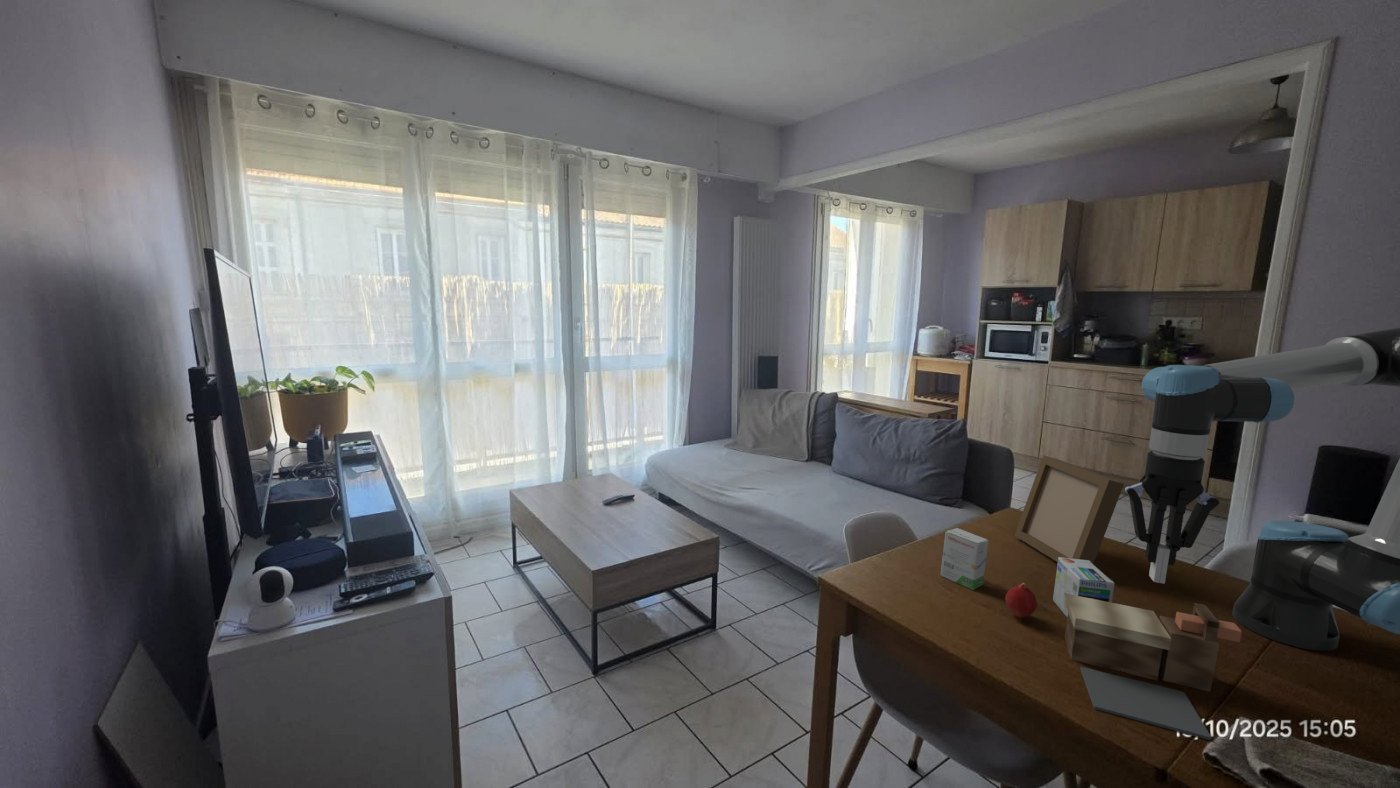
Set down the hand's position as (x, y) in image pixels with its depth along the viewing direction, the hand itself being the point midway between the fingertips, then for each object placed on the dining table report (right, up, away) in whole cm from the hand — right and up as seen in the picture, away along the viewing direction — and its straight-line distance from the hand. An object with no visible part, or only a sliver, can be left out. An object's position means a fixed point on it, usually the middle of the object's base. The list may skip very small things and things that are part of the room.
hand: (1156, 579), depth 97 cm
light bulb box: (0, -15, +20) cm, 25 cm away
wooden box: (-2, -17, +3) cm, 18 cm away
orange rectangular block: (+7, -9, -2) cm, 11 cm away
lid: (-5, -10, +4) cm, 12 cm away
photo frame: (+17, -10, +48) cm, 52 cm away
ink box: (-19, -12, +34) cm, 41 cm away
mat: (-8, -19, -6) cm, 21 cm away
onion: (-14, -15, +18) cm, 27 cm away
